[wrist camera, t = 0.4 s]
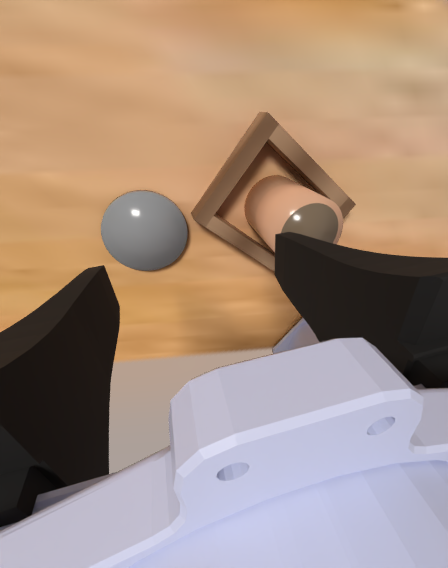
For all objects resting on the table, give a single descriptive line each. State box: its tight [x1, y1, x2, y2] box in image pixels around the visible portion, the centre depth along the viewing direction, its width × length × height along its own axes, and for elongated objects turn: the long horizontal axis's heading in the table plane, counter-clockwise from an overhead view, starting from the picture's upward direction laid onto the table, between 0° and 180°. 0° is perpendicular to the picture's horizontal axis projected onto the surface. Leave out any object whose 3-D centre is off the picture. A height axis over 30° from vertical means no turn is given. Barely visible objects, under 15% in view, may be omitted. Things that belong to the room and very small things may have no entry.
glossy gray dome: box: [101, 190, 187, 271], centre depth 20 cm, size 6×6×1 cm
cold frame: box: [191, 112, 356, 272], centre depth 21 cm, size 10×8×2 cm
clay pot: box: [245, 175, 343, 252], centre depth 19 cm, size 4×4×6 cm
